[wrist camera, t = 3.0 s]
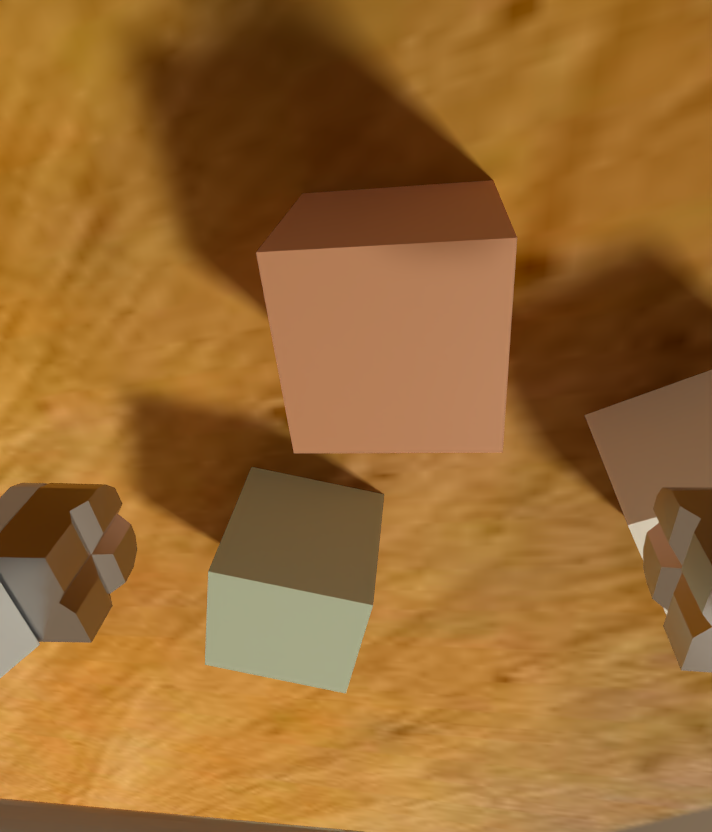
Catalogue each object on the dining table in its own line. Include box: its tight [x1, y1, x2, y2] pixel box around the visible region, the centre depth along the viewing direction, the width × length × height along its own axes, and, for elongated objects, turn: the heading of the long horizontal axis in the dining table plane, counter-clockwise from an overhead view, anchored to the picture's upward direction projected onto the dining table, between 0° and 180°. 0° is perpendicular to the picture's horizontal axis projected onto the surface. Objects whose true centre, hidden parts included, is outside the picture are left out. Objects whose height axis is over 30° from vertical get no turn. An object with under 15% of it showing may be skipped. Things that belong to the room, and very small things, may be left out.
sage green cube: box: [205, 467, 384, 693], centre depth 20 cm, size 5×5×5 cm
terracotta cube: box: [256, 180, 517, 453], centre depth 14 cm, size 5×5×5 cm
